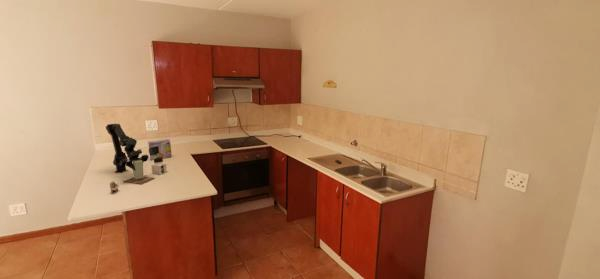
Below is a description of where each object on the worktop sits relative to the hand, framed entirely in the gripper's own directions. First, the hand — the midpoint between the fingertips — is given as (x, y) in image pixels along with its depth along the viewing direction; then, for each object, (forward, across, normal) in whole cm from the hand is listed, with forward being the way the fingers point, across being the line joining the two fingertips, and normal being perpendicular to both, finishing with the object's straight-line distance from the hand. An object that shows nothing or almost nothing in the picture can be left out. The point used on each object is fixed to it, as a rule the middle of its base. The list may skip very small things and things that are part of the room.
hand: (138, 169), depth 216 cm
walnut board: (+5, 0, +7) cm, 9 cm away
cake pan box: (-27, +39, +40) cm, 62 cm away
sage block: (+4, 0, +6) cm, 7 cm away
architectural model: (+12, -20, +1) cm, 23 cm away
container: (+1, +18, +12) cm, 22 cm away
